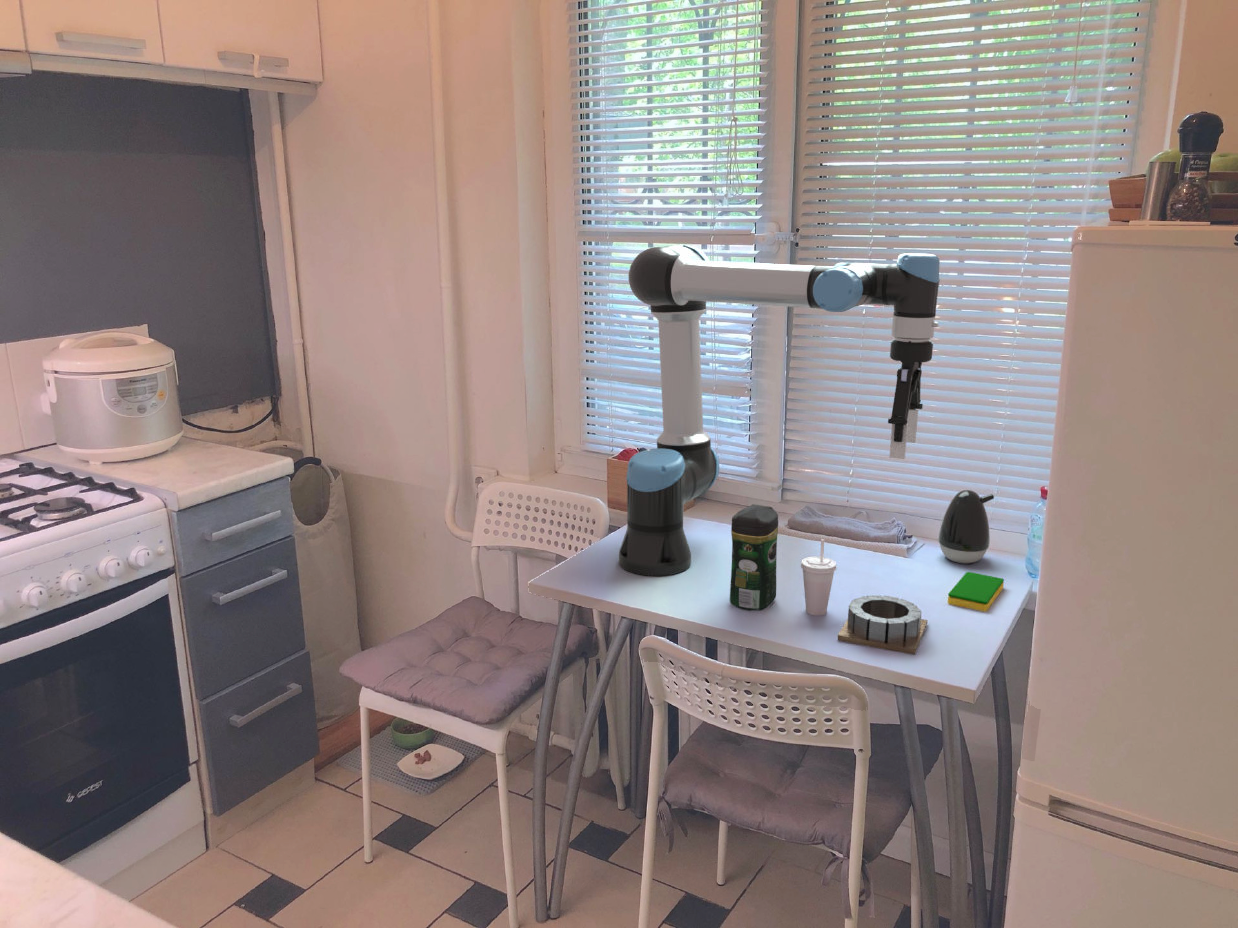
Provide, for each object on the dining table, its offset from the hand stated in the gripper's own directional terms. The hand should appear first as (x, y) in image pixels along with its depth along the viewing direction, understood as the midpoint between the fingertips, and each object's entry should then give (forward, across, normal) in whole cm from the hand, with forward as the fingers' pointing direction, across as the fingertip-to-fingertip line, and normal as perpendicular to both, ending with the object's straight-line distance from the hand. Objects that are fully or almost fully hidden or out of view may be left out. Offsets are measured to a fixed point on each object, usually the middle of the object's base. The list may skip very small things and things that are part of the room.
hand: (902, 449), depth 185 cm
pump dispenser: (+27, +20, -12) cm, 36 cm away
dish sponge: (+28, 0, -16) cm, 32 cm away
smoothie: (+28, -20, +10) cm, 36 cm away
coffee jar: (+28, -21, +22) cm, 41 cm away
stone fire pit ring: (+27, -24, -2) cm, 37 cm away
